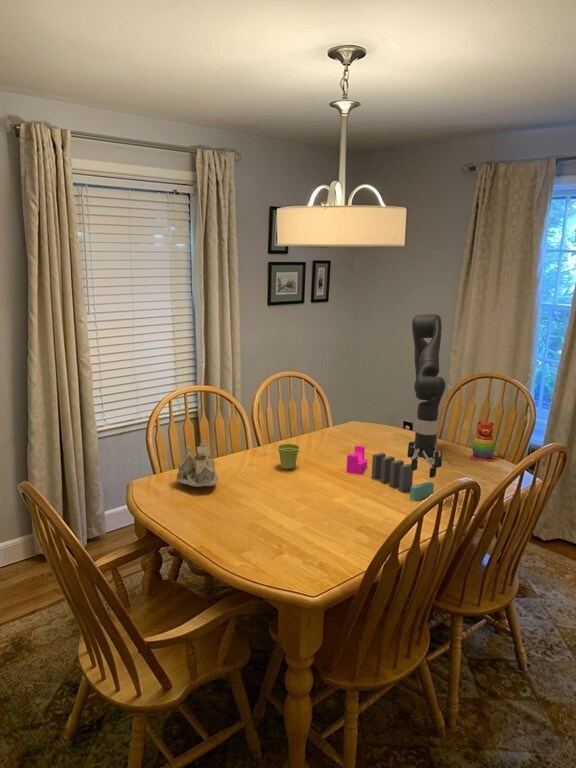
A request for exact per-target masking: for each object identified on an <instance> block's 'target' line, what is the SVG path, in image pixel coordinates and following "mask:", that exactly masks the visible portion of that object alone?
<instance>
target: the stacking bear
mask: <svg viewBox="0 0 576 768" xmlns="http://www.w3.org/2000/svg"><path fill="white" fill-rule="evenodd" d="M476 430H477V434H476V435H475V436H474V438H473V441H472V446H471V447H472V455H470V456H469V460H470V461H472V460H474V462H485V461H487V462H486V463H488V462H494V460H495V458H494V457H493V456H494V453H495V450H496V449H495V448H496V446H495V445H496V444H495V439H494V436H493V435H492V434H493V433H494V432H493V431H494V423H493V422H491V421H490V422H488V421H478V422H477V427H476ZM478 460H479V461H478ZM494 463H495V462H494Z"/></svg>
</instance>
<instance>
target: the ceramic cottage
mask: <svg viewBox="0 0 576 768" xmlns="http://www.w3.org/2000/svg"><path fill="white" fill-rule="evenodd" d="M191 448H192V447H191V446H190V445H187V446H186V451H185V452H186V453H185V455H184V456H183V458H182V459H181V461H179V463H178V464H177V465H178V470H177V471H178V472H177V474H176V479H175V480H176V481H177V482H178V483H181V484H185V485H188V486H192V487H198V488H199V487H210V486H211V487H212V486H215V484H216V483H217V482H218V481H219V476H218V474H217V473H216V467H215V466H216V465H215V460H214V458H213V459H211V450H210V446H207V445H206V440H202V442H201V443H200V444H199V446H196V455H195V456H193V455H192V449H191Z"/></svg>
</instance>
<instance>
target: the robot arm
mask: <svg viewBox="0 0 576 768" xmlns="http://www.w3.org/2000/svg"><path fill="white" fill-rule="evenodd" d="M411 328H412V329H411V330H412V331H411V332H412V336H413V347H414V368H415V369H414V371H415V381H414V385H413V388H414V392H415V396H416V399H418V400H420V402H419V403H418V405H417V413H416V424H415V432H414V433H415V434H414V440H413V441H410V442H408V448H407V458H410V460H411V463H410V464H411V468H412V470H413V472H414V471H417V470H418V465H419V464H418V462H419V460H418V459H420V458H422V459H423V460H425V461H426V462H427V464H429V466H430V467H429V478H430V479H432V478H435V477H436V476H437V469H438V468H441V467H442V464H443V463H442V461H443V451H442V450H437V449H438V439H439V437H438V436H439V432H438V427H439V425H438V421H439V407H440V403H441V401H442V398H443V395H444V393H445V391H446V381H445V379H444V378H443V377H442V376H438V375H440V374H439V373H440V348H441V342H442V341H441V340H442V328H443V327H442V318H441V316H440V315H439V314H434V313H431V314H430V313H429V314H427V313H426V314H418V315H415V316H414V317H413V318H412V322H411ZM425 339H431V340H430V341H429V342H427V341H426V340H425Z"/></svg>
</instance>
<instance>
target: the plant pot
mask: <svg viewBox="0 0 576 768" xmlns="http://www.w3.org/2000/svg"><path fill="white" fill-rule="evenodd" d="M276 448H277V449H278V453H279V463H280V467H281V468H282V469H286V470H289V469H295V468H296V465H297V464H296V463H297V458H298V453H299V450H300V445H299V444H295V443H281V444H278V445H277V447H276Z"/></svg>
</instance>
